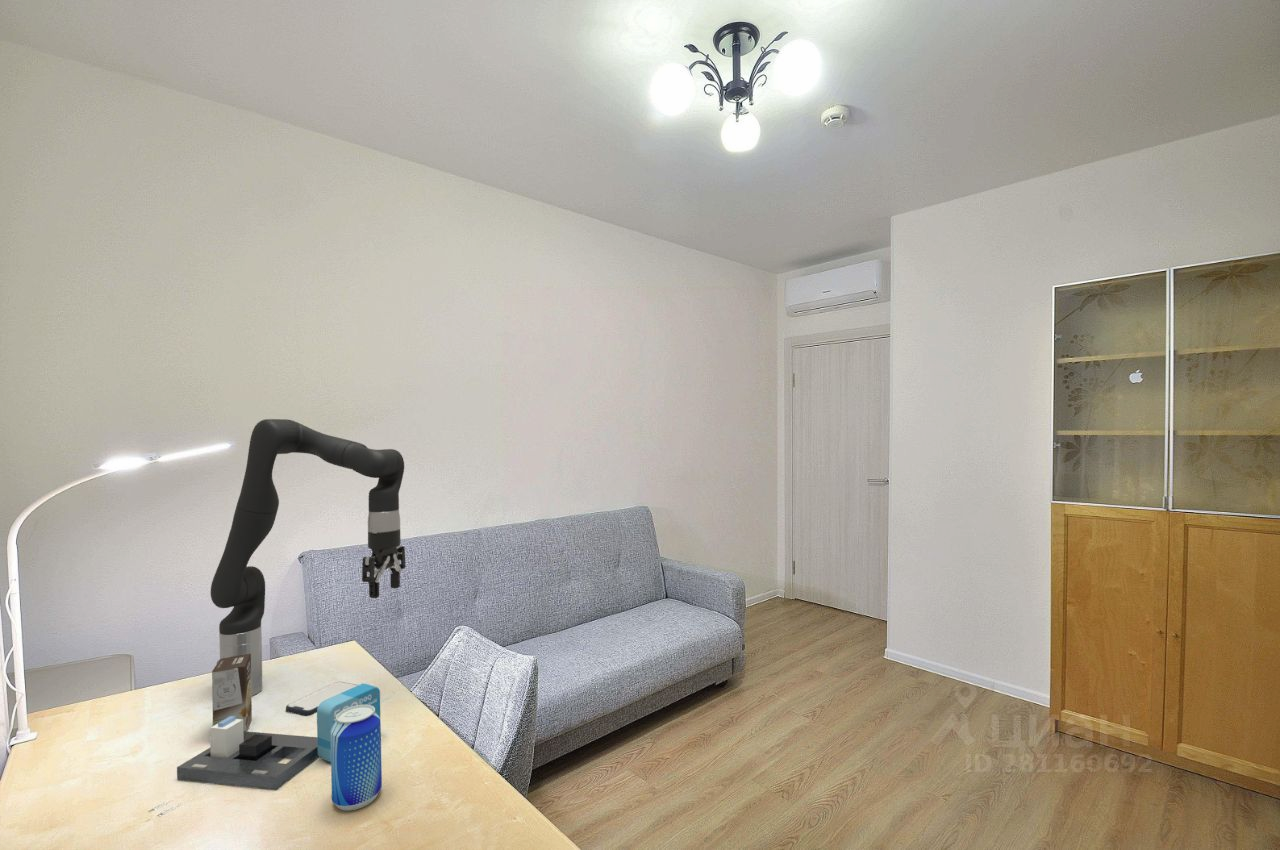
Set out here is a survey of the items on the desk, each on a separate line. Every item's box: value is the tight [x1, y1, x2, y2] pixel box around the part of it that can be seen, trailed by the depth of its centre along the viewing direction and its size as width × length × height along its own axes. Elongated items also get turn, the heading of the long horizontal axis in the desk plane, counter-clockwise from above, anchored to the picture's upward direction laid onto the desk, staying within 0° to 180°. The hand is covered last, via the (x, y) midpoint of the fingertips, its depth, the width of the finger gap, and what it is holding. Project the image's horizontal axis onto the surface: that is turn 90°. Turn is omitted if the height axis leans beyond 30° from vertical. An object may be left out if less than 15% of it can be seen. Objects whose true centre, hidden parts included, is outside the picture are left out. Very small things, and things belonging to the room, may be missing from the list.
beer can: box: [330, 705, 383, 812], centre depth 107 cm, size 8×8×16 cm
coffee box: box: [211, 654, 253, 731], centre depth 133 cm, size 9×6×16 cm
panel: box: [176, 730, 320, 791], centre depth 119 cm, size 23×14×5 cm, turn 80°
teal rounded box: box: [316, 683, 381, 763], centre depth 124 cm, size 12×4×12 cm, turn 152°
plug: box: [209, 716, 244, 758], centre depth 120 cm, size 4×4×9 cm
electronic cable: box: [148, 783, 215, 817], centre depth 108 cm, size 4×10×1 cm, turn 154°
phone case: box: [285, 681, 359, 717], centre depth 148 cm, size 9×2×16 cm
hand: (385, 592), depth 143 cm, fingers open, 8 cm apart
